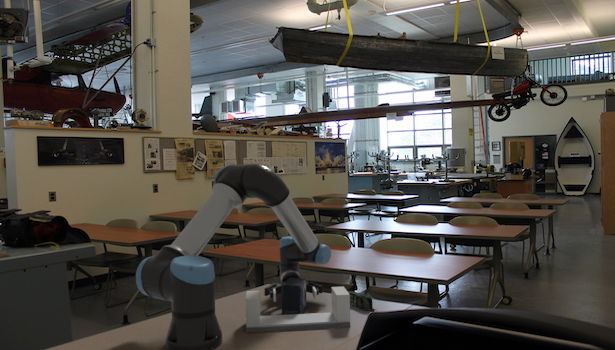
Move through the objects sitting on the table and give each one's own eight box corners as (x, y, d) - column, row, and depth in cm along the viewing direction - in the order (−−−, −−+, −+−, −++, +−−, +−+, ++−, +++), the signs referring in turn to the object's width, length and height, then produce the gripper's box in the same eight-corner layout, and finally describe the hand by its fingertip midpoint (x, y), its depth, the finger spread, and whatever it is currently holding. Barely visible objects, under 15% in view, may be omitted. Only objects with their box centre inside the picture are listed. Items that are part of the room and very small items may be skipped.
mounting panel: (246, 332, 131) (246, 326, 131) (247, 321, 141) (247, 316, 141) (350, 326, 134) (350, 321, 134) (344, 316, 144) (344, 311, 144)
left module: (246, 326, 131) (245, 299, 131) (247, 316, 141) (246, 291, 141) (260, 326, 132) (259, 298, 132) (260, 315, 142) (259, 290, 142)
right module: (337, 321, 134) (336, 295, 134) (332, 311, 144) (331, 287, 144) (350, 321, 134) (349, 294, 134) (344, 311, 144) (343, 286, 144)
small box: (300, 317, 145) (300, 285, 145) (281, 316, 146) (280, 284, 146) (307, 308, 155) (306, 277, 155) (289, 307, 156) (288, 277, 156)
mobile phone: (341, 290, 160) (370, 298, 148) (347, 289, 161) (377, 296, 149) (341, 304, 160) (371, 313, 148) (347, 302, 161) (378, 311, 149)
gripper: (324, 290, 170) (332, 305, 149) (258, 293, 168) (257, 309, 147) (323, 270, 171) (332, 283, 149) (257, 273, 168) (257, 286, 147)
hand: (295, 296), depth 148 cm, fingers open, 13 cm apart
